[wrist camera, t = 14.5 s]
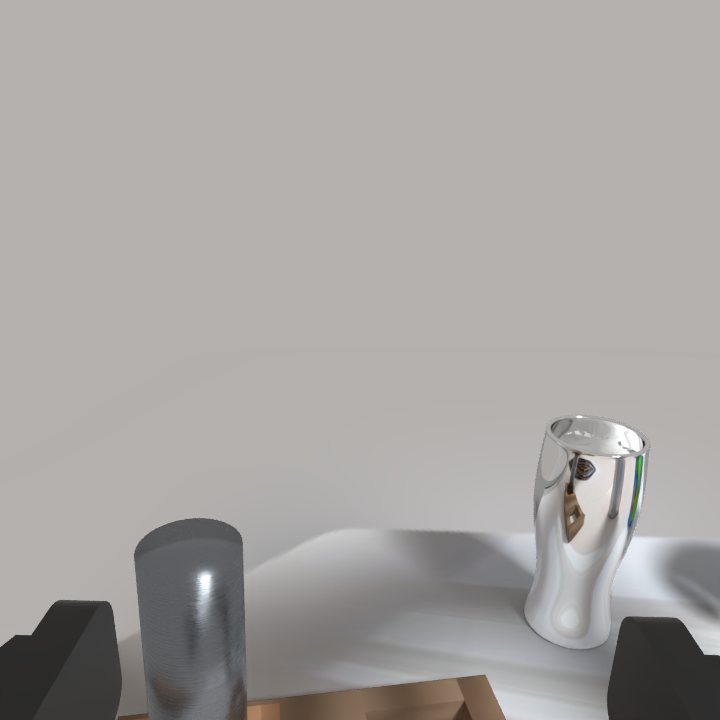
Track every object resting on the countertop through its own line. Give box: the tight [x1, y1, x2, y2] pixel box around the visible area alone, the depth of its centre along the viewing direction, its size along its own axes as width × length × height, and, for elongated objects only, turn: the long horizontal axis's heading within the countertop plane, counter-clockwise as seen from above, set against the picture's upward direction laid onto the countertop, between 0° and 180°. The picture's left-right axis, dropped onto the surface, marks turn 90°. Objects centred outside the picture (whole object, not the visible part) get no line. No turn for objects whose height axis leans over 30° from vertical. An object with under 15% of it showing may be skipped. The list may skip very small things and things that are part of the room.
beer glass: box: [524, 415, 650, 649], centre depth 44 cm, size 7×7×15 cm
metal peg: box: [134, 518, 247, 720], centre depth 29 cm, size 4×4×16 cm
